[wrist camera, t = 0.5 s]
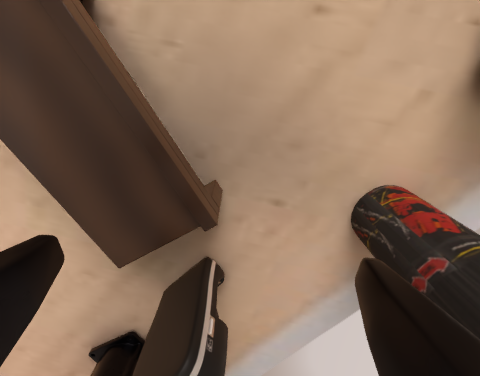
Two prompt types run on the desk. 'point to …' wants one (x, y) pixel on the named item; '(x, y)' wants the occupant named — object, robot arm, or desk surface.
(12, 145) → the shelf
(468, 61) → the desk surface
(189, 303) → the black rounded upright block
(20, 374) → the desk surface
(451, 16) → the desk surface
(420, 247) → the deodorant
